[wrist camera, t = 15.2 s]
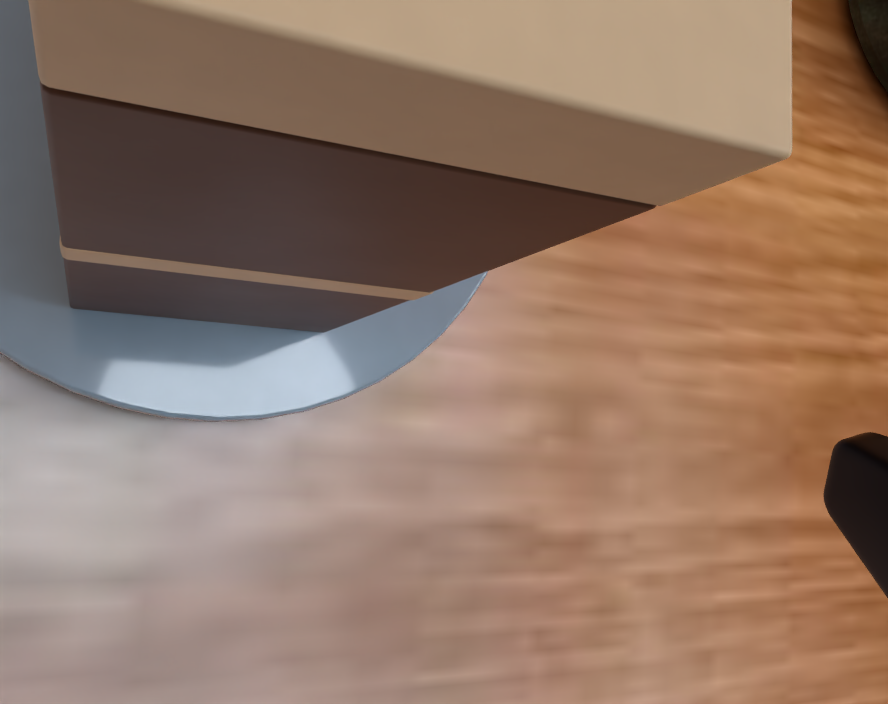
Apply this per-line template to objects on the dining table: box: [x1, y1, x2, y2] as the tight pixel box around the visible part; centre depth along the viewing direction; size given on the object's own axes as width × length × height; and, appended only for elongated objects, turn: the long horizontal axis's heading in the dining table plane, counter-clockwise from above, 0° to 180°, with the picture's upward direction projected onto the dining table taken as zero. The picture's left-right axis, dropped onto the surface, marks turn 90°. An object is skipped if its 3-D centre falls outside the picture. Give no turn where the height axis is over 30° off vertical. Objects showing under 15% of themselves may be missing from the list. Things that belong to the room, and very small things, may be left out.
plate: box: [0, 0, 488, 421], centre depth 17 cm, size 14×14×1 cm
